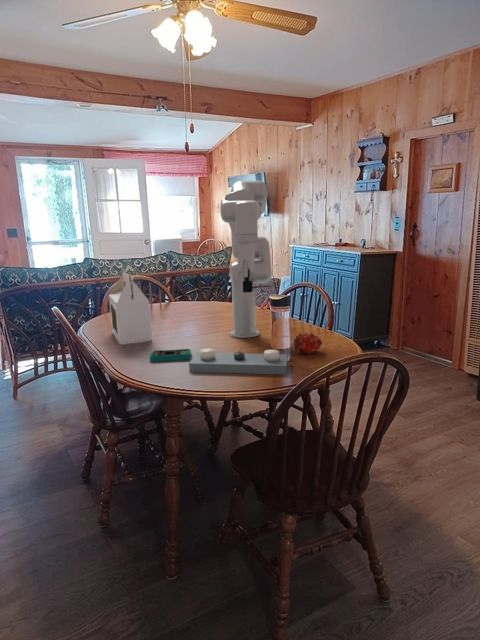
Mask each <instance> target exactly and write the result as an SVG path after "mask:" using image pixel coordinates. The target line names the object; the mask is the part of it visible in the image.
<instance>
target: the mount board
mask: <svg viewBox="0 0 480 640" xmlns="http://www.w3.org/2000/svg"><path fill="white" fill-rule="evenodd" d="M234 353H235V352H215V358H214V359H210V360H203V359H201V358H200V352H196V354H195V355H194V356H193V358H191V359H190V360H189V361H190V362H189V363H188V367H189V371H188V372H189V373H215V374H217V373H222V374H223V373H224V374H254V375H257V374H258V375H263V374H264V375H286V374H287V369H288V359H289V358H288V354H287V353H279V360H277V361H266V360H265V359H264V353H245V352H244V353H245V359H244V360H235V359H234Z"/></svg>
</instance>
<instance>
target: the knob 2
mask: <svg viewBox="0 0 480 640" xmlns="http://www.w3.org/2000/svg"><path fill="white" fill-rule="evenodd" d="M263 354H264V359H265V360H266V361H277V360H279V354H280V350H277V349H265V350H264V351H263Z"/></svg>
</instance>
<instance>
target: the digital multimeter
mask: <svg viewBox="0 0 480 640" xmlns="http://www.w3.org/2000/svg"><path fill="white" fill-rule="evenodd" d="M149 360H150V363H159V362H160V363H161V362H162V361H163V362H177V361H178V362H179V361H191V360H192V351H191V349H189V348H184V349H183V348H182V349H168V350H167V349H165V350H153V351H151V353H150V354H149Z"/></svg>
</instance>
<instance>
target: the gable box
mask: <svg viewBox="0 0 480 640" xmlns="http://www.w3.org/2000/svg"><path fill="white" fill-rule="evenodd" d="M134 279H135V276H132V275H131V274H130V273H128V272H127V271H125V270H122V277H120V278H118V280H117V281H116V283H115V285H114V286H113V288H112V290H111V291H110V293H109V295H108V301H109V312H110V321H111V331H112V332H111V333H112V335H113V336H114V337H115V339H116V341H117V342H118V344H119V345H120V346H122V345H130V344H131V343H132V344H138V343H139V344H140V343H144V342H152V341H153V336H152V335H153V334H152V322H151V310H150V308H151V307H150V300H149V299H148V297H147V296H146V295H145V294H144V293H143V291H142V290H141V289H140V288H139V286H138V285H137V284H136V283H135V282H134Z"/></svg>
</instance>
